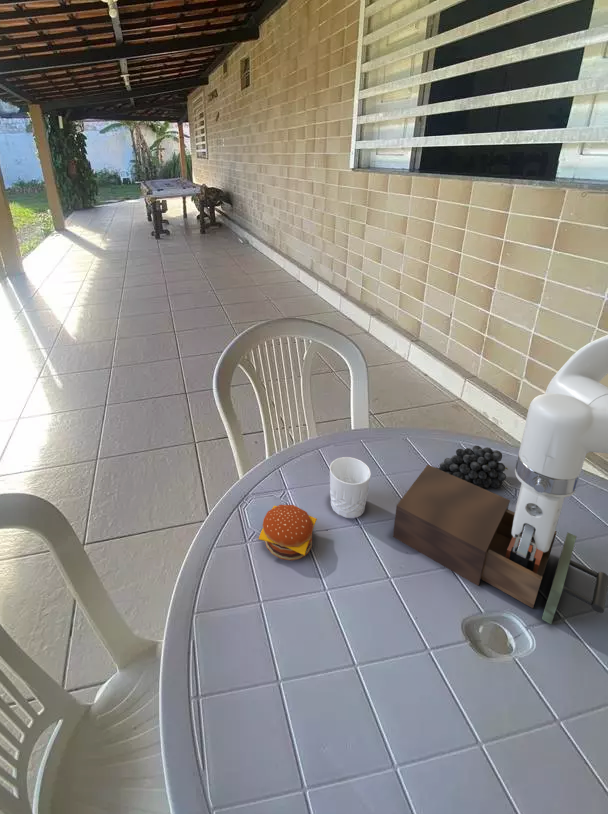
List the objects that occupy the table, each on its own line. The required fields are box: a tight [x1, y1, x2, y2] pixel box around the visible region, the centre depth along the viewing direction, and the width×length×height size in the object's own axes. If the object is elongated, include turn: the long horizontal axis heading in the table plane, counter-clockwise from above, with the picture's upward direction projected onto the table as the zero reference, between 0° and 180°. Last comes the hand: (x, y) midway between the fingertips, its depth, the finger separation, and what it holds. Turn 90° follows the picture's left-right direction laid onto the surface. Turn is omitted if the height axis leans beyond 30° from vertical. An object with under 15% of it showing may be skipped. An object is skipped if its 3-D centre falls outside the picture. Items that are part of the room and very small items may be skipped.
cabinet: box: [392, 464, 511, 587], centre depth 78 cm, size 15×15×9 cm
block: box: [505, 537, 544, 574], centre depth 71 cm, size 4×4×4 cm
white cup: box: [329, 456, 372, 519], centre depth 86 cm, size 8×8×10 cm
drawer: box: [480, 508, 608, 625], centre depth 70 cm, size 18×13×7 cm
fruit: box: [436, 445, 509, 489], centre depth 92 cm, size 9×8×15 cm
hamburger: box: [258, 504, 318, 561], centre depth 80 cm, size 9×10×7 cm
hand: (524, 556), depth 71 cm, fingers open, 5 cm apart
